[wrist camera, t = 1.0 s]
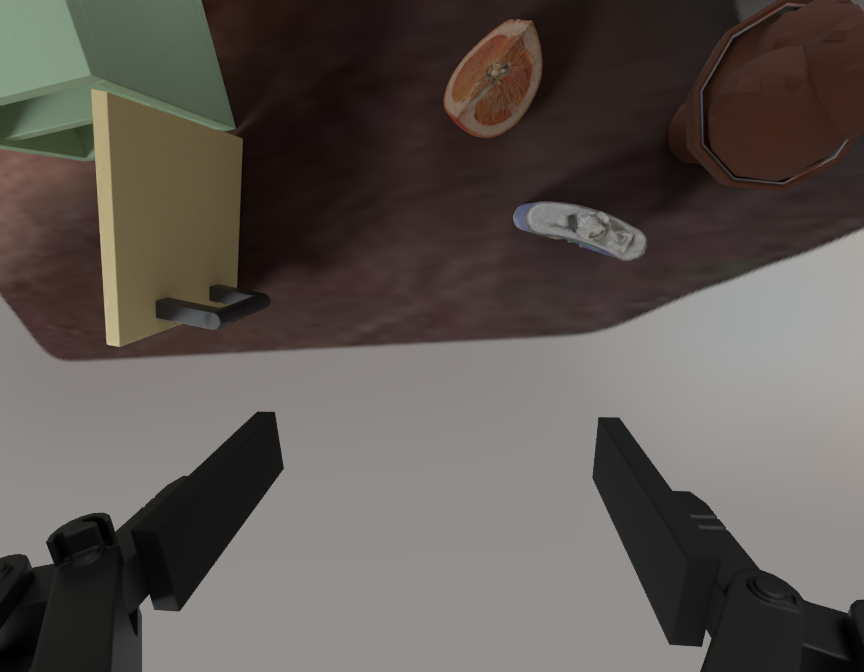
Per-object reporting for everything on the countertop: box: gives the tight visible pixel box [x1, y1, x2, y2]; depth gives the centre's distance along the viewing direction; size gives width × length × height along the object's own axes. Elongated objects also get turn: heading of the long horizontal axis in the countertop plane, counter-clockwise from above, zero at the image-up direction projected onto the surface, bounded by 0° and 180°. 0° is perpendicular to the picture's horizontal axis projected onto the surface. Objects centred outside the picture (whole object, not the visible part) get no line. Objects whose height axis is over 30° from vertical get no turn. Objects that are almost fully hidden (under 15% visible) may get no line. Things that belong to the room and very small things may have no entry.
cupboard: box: [0, 0, 236, 161], centre depth 30 cm, size 11×16×15 cm
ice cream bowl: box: [668, 0, 864, 191], centre depth 27 cm, size 11×11×15 cm
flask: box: [513, 201, 647, 261], centre depth 32 cm, size 9×3×11 cm, turn 74°
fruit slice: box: [444, 19, 542, 138], centre depth 32 cm, size 8×7×5 cm
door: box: [91, 89, 270, 347], centre depth 33 cm, size 6×16×15 cm, turn 169°
